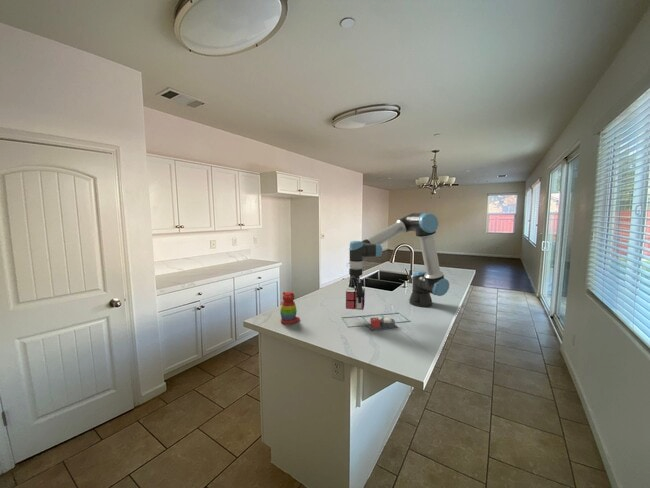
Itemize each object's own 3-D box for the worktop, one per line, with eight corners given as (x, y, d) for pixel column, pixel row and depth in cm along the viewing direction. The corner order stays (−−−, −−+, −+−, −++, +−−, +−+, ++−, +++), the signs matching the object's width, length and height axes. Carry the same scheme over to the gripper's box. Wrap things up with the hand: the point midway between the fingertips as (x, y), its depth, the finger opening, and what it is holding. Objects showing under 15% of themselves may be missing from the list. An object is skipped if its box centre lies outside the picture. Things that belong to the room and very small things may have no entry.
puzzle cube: (363, 310, 149) (363, 292, 148) (345, 308, 151) (345, 291, 150) (364, 304, 158) (364, 287, 157) (347, 303, 160) (347, 287, 159)
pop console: (391, 322, 154) (391, 314, 153) (398, 328, 146) (398, 319, 145) (367, 325, 151) (367, 316, 150) (372, 330, 143) (372, 321, 142)
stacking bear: (300, 319, 159) (300, 290, 157) (293, 326, 149) (293, 295, 147) (284, 317, 162) (284, 288, 160) (276, 323, 153) (275, 293, 151)
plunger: (389, 322, 151) (389, 317, 151) (393, 325, 147) (393, 320, 147) (381, 322, 150) (382, 318, 150) (385, 326, 146) (385, 321, 146)
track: (399, 313, 169) (399, 312, 169) (410, 321, 155) (410, 321, 155) (341, 317, 161) (341, 317, 161) (348, 327, 147) (348, 326, 147)
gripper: (343, 264, 163) (343, 298, 166) (356, 272, 140) (355, 312, 142) (355, 264, 165) (354, 297, 167) (369, 272, 141) (369, 311, 143)
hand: (355, 304), depth 154 cm, fingers closed on puzzle cube, 12 cm apart
